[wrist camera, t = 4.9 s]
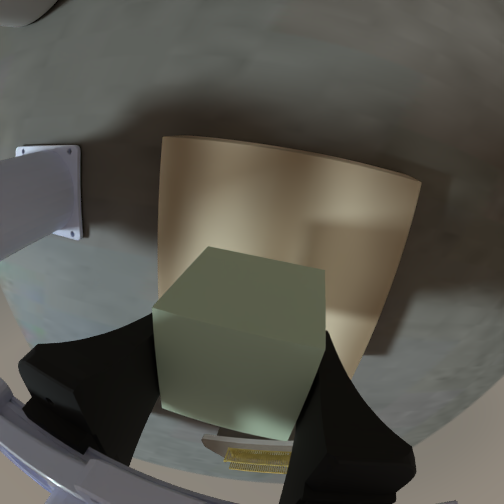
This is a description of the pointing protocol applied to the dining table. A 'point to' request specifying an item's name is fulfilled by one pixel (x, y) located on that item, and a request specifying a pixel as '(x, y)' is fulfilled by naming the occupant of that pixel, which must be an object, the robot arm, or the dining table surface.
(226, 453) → the platform
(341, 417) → the robot arm
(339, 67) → the dining table surface
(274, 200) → the birch base
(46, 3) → the cylinder vase
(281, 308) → the green cube
